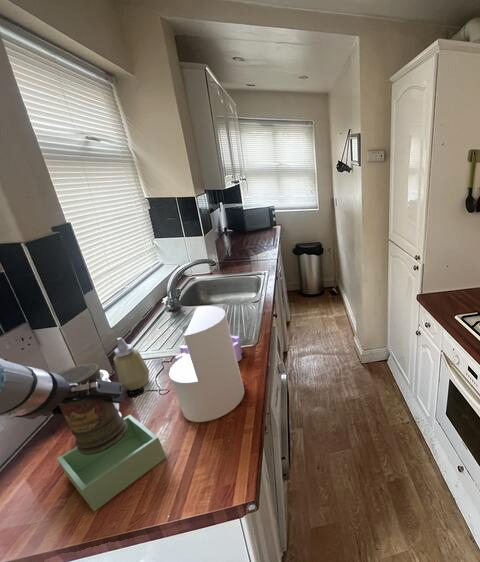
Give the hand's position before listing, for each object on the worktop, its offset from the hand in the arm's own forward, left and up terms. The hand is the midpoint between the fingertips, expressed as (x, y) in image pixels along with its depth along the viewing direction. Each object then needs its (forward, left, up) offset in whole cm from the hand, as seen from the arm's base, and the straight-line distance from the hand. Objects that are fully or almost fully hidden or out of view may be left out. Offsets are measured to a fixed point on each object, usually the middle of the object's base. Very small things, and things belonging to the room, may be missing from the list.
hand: (97, 403), depth 71 cm
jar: (-17, +2, -17) cm, 25 cm away
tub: (+3, -2, -17) cm, 18 cm away
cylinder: (+2, +23, -17) cm, 29 cm away
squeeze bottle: (-27, +15, -18) cm, 36 cm away
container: (+3, -2, -8) cm, 8 cm away
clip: (-16, +35, -17) cm, 42 cm away
